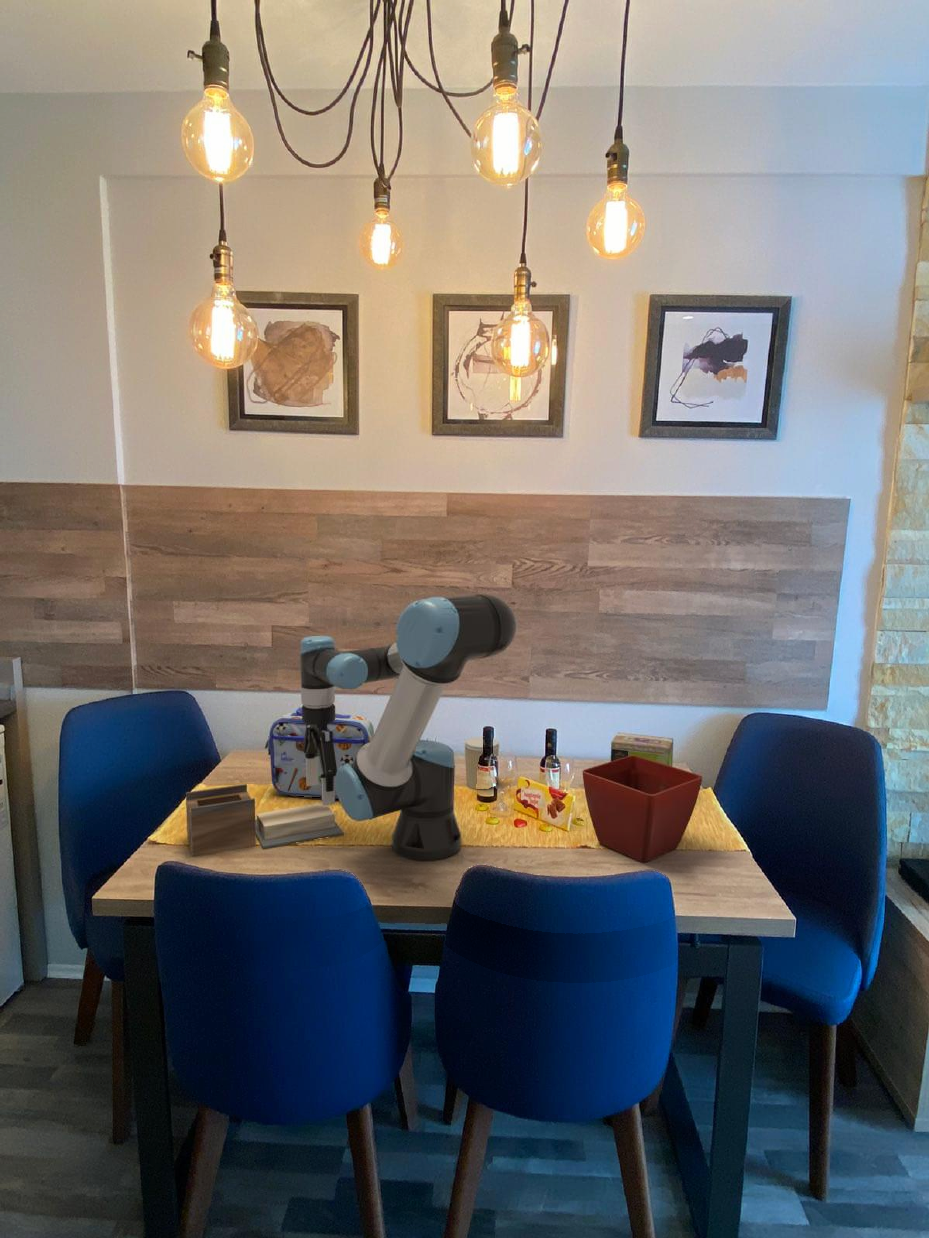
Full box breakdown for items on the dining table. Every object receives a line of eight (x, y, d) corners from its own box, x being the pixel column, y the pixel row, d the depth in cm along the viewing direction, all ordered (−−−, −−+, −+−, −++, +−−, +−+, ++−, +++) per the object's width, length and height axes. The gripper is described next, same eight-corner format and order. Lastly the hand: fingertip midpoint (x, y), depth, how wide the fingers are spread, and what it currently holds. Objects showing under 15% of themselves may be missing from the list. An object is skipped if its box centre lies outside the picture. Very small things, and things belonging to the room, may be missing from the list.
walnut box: (255, 845, 164) (254, 799, 163) (192, 856, 159) (191, 808, 157) (247, 827, 173) (246, 783, 172) (187, 837, 167) (185, 792, 166)
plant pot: (629, 820, 181) (633, 753, 179) (699, 848, 167) (704, 775, 165) (576, 842, 169) (579, 770, 167) (647, 874, 155) (652, 796, 152)
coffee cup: (504, 782, 205) (505, 740, 203) (487, 793, 197) (488, 749, 195) (474, 776, 209) (475, 734, 208) (457, 786, 201) (457, 743, 200)
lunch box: (261, 797, 191) (259, 713, 188) (275, 783, 201) (274, 703, 198) (368, 804, 188) (368, 718, 185) (377, 788, 199) (377, 707, 195)
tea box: (671, 791, 201) (674, 737, 199) (667, 804, 192) (670, 748, 190) (615, 782, 207) (617, 730, 205) (608, 795, 197) (610, 740, 195)
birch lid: (335, 826, 173) (335, 814, 173) (264, 839, 166) (264, 826, 165) (324, 814, 180) (324, 802, 180) (257, 826, 173) (256, 813, 172)
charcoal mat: (343, 834, 170) (343, 832, 170) (262, 849, 163) (262, 846, 162) (325, 810, 184) (325, 808, 184) (249, 822, 176) (249, 820, 176)
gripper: (351, 715, 162) (352, 810, 165) (319, 691, 184) (321, 775, 187) (316, 719, 159) (318, 815, 161) (289, 694, 181) (291, 779, 184)
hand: (320, 794), depth 174 cm, fingers open, 13 cm apart
